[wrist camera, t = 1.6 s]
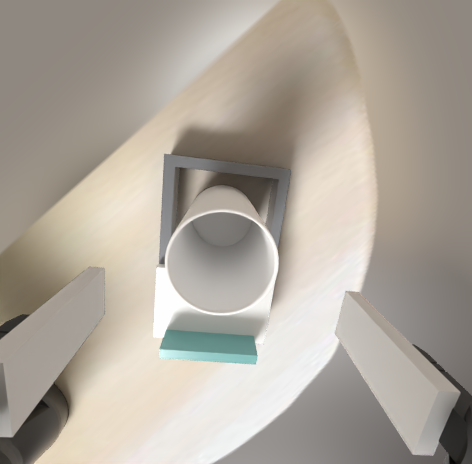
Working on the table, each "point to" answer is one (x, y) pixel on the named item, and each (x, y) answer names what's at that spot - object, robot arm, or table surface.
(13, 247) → the table surface
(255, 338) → the cover
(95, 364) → the table surface
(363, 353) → the robot arm
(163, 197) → the grey shallow rectangular tray
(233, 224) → the cup
